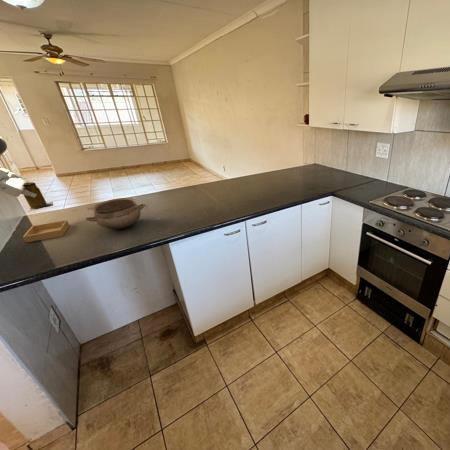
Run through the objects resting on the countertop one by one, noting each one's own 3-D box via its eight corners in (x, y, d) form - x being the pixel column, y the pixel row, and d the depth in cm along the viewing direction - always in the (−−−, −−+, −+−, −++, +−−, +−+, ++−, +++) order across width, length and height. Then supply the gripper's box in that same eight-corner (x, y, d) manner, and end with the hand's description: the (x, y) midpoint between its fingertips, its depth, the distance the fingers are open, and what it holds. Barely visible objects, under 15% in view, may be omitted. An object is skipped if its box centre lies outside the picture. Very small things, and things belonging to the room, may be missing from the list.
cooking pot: (97, 242, 112) (86, 218, 106) (89, 228, 123) (79, 206, 118) (155, 224, 128) (148, 202, 122) (143, 213, 139) (137, 193, 134)
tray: (26, 242, 112) (22, 236, 110) (35, 231, 121) (32, 225, 120) (63, 235, 117) (60, 229, 116) (69, 225, 127) (67, 219, 125)
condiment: (30, 206, 122) (17, 183, 117) (53, 202, 127) (41, 179, 122) (29, 211, 118) (16, 187, 112) (53, 206, 123) (41, 183, 117)
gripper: (-6, 177, 103) (38, 194, 113) (6, 167, 117) (43, 183, 127) (-15, 189, 103) (29, 205, 112) (-3, 178, 117) (36, 193, 127)
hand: (37, 193), depth 120 cm, fingers closed on condiment, 6 cm apart
